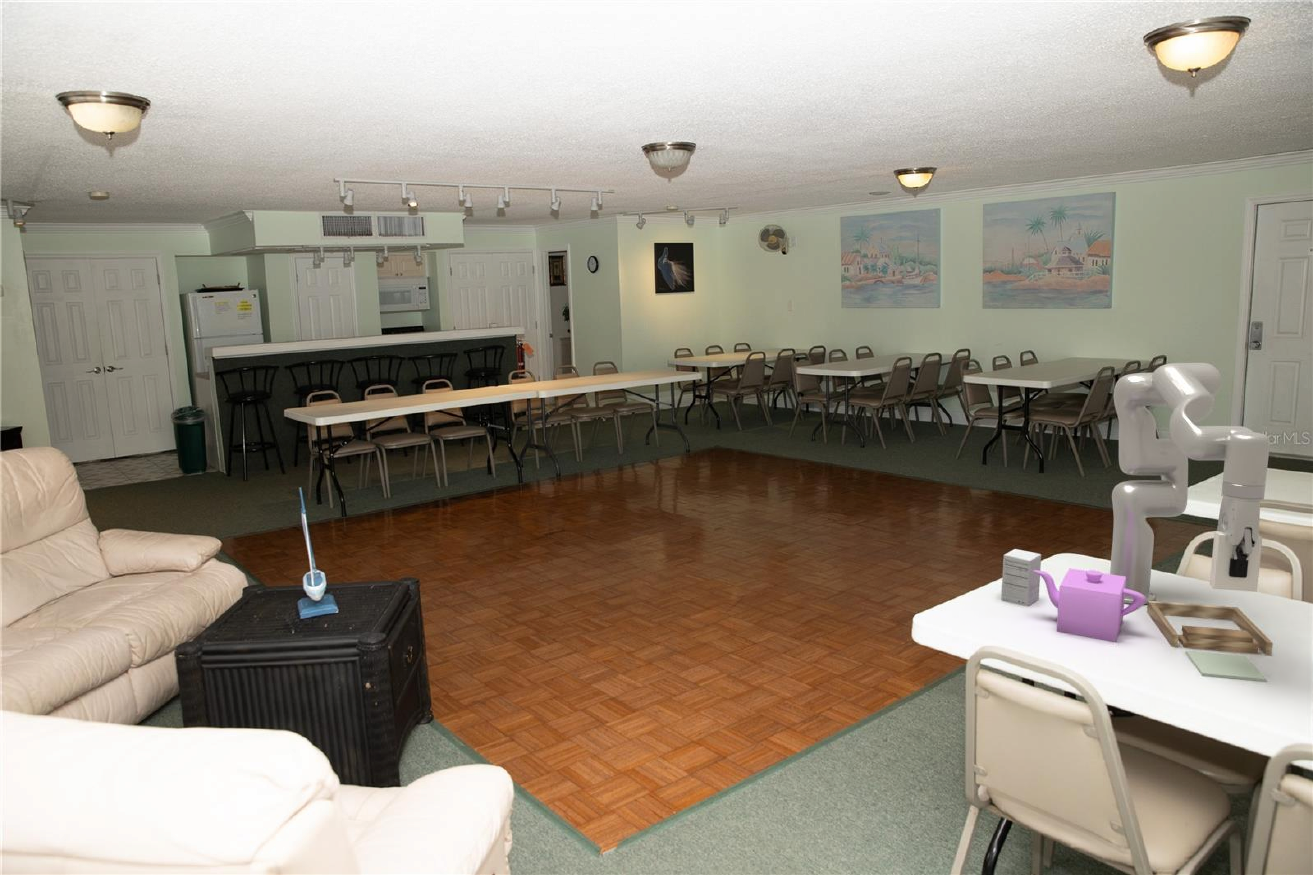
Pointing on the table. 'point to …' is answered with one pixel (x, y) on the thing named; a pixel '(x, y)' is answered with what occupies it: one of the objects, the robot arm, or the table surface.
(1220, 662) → the mat
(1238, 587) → the cream rectangular block
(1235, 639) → the offcut stack
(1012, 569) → the supplement box
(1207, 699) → the table surface
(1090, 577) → the teapot
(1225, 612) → the frame
